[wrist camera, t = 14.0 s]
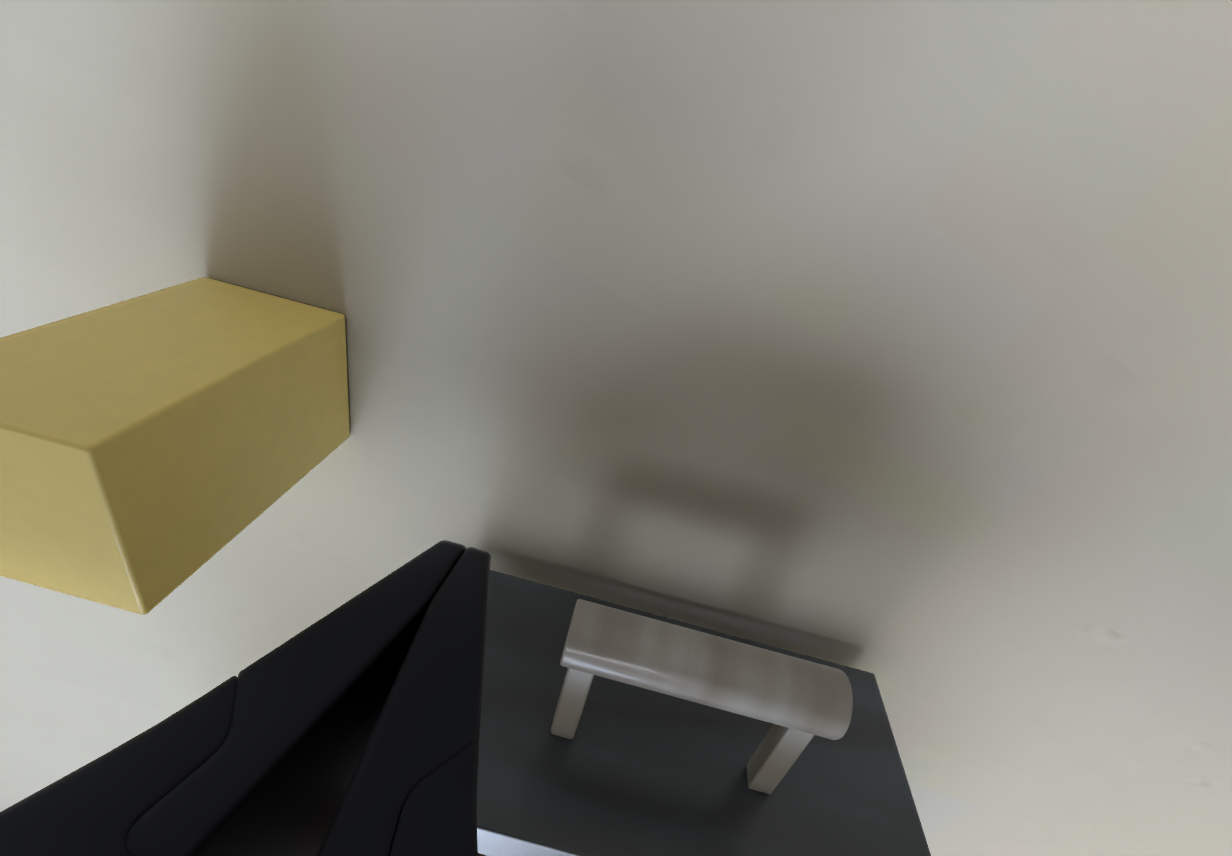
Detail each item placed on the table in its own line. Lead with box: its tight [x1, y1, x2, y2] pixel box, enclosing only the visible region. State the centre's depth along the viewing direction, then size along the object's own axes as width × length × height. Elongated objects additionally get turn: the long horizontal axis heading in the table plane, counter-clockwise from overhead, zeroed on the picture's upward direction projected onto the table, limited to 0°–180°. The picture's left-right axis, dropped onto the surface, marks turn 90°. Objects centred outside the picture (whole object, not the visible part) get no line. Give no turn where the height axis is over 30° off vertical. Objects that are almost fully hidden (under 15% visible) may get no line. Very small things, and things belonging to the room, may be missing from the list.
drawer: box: [476, 570, 931, 856], centre depth 16 cm, size 17×13×7 cm
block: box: [0, 277, 350, 615], centre depth 12 cm, size 4×4×7 cm
